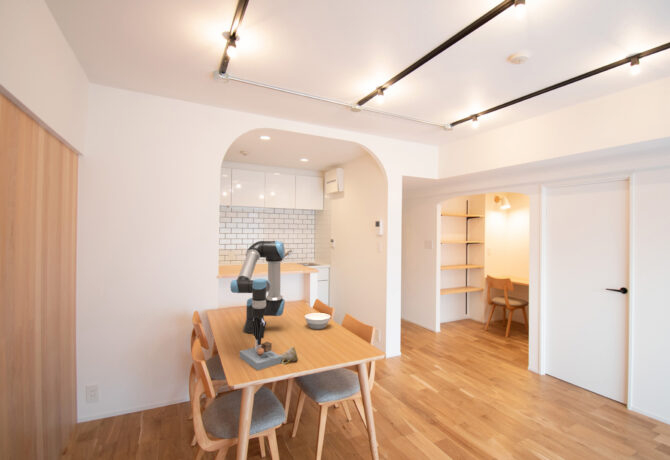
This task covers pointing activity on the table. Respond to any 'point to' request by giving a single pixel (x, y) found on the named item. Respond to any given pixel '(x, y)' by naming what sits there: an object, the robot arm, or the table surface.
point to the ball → (260, 351)
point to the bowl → (317, 320)
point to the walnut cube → (266, 346)
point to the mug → (289, 355)
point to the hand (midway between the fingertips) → (258, 350)
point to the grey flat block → (260, 358)
